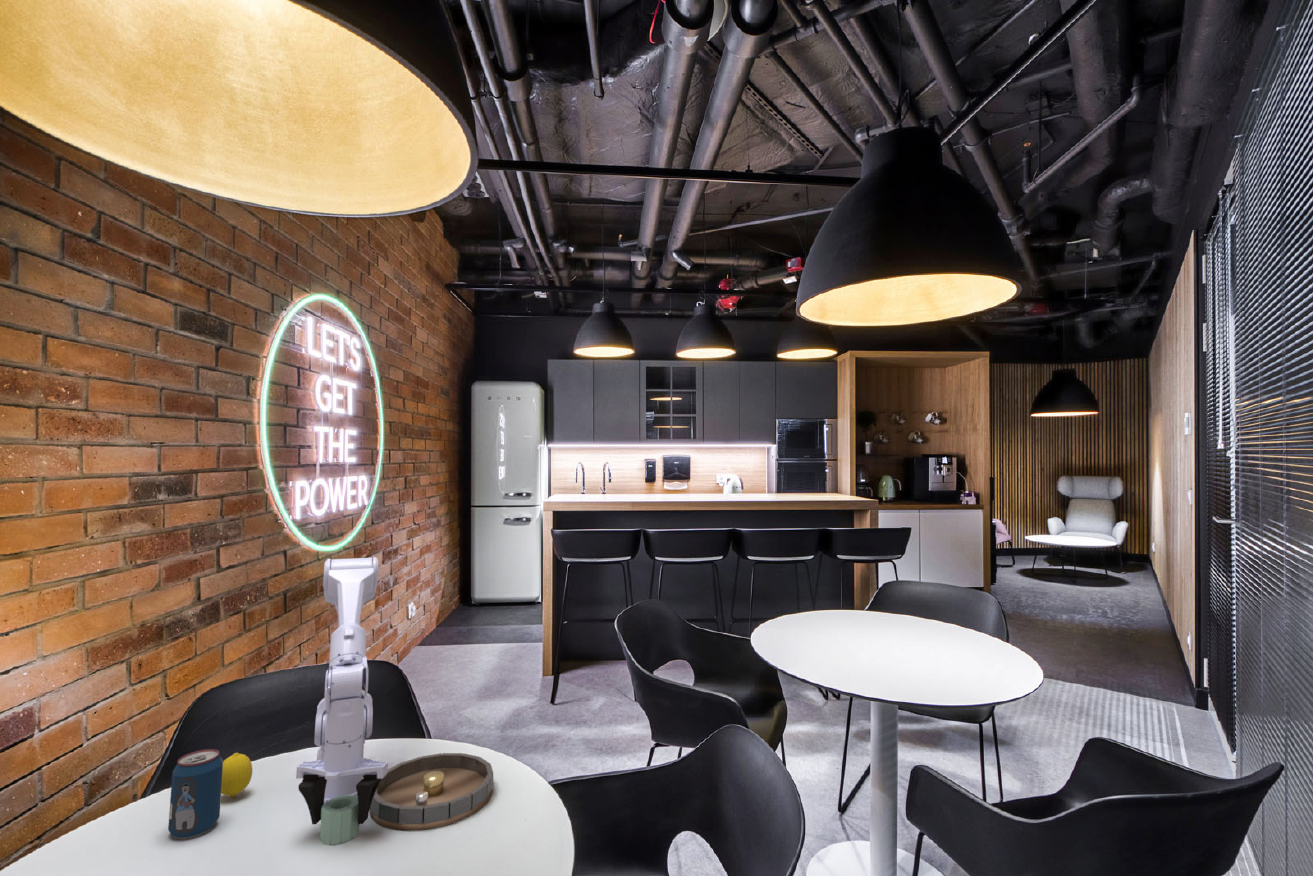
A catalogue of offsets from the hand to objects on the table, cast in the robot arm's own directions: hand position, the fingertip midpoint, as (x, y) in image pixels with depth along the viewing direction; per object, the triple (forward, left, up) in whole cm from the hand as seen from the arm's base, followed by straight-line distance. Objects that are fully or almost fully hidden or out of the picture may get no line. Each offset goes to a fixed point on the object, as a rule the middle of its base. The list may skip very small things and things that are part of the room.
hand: (340, 821), depth 100 cm
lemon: (-27, -10, -2) cm, 29 cm away
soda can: (-19, -17, -2) cm, 26 cm away
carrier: (-1, +17, -2) cm, 17 cm away
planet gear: (0, 0, -2) cm, 2 cm away
